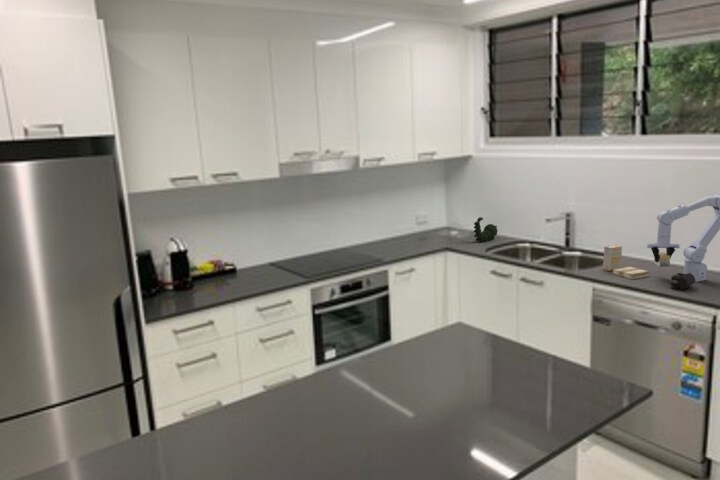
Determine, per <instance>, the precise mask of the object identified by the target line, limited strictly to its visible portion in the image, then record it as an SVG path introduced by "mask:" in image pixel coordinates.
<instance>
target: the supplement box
mask: <svg viewBox="0 0 720 480" xmlns="http://www.w3.org/2000/svg"><path fill="white" fill-rule="evenodd" d="M622 253H623V246H622V245H619V244H612V245H604V247H603V265H602V267H603V268H602V270H604V271H608V272H611V271H612V272H613V269H618V268H622V256H623V255H622Z"/></svg>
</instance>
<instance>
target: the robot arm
mask: <svg viewBox="0 0 720 480" xmlns="http://www.w3.org/2000/svg"><path fill="white" fill-rule="evenodd" d="M704 207H712V208H713V210H714V213H715V215H714V216H713V218H712V219H711V220H710V222H709V223H708V224H707V226H706V227H705V228H704V230H703V231H702V232H701V233H700V235H699V236H698V238H697V239H696V240H695V241H694V242H691V243H690V245H689V246H687V247H685V248H684V250H683V256H684V257H685V258H684V265H683V274H688V273H691V274H692V275H693V276H694V277H695V282H696V283H697V282H702V281H707V280H708V278H707V273H708V266H707V264H705V263H704V262H702V261H704V259H705V256H706V253H707V251H708V246H709V245H710V243H711V241H712V240H714V238H715V237H716V235H717V234H718V232H719V231H720V193H713V194H709V195H707V196H705V197H702V198H701V199H698V200H696V201H694V202H692V203H689V204H686V205H684V204H677V205H676V206H675V207H672V208H671V209H670V208H667V211H660V212H659V213H658V214H657V216H656V219H657V221H658V226H657V239H656V242H655V243H647V244H646V248H648V249H651V251H652V254H653V258H655V262H658V254H659V252H660V249H666V251H665V253H666V254H668V255H670V259H671V258H672V255H673V254H674V252H676V249H680V247H681V244H679V243H671V237H672V236H671V235H672V234H671V233H672V224H673V223H674V221H676V220H679V219H681V218H682V219H683V218H685V217H686V216H689V214H690V212H692V211H695V210H698V209H699V210H700V209H702V208H704Z"/></svg>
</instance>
